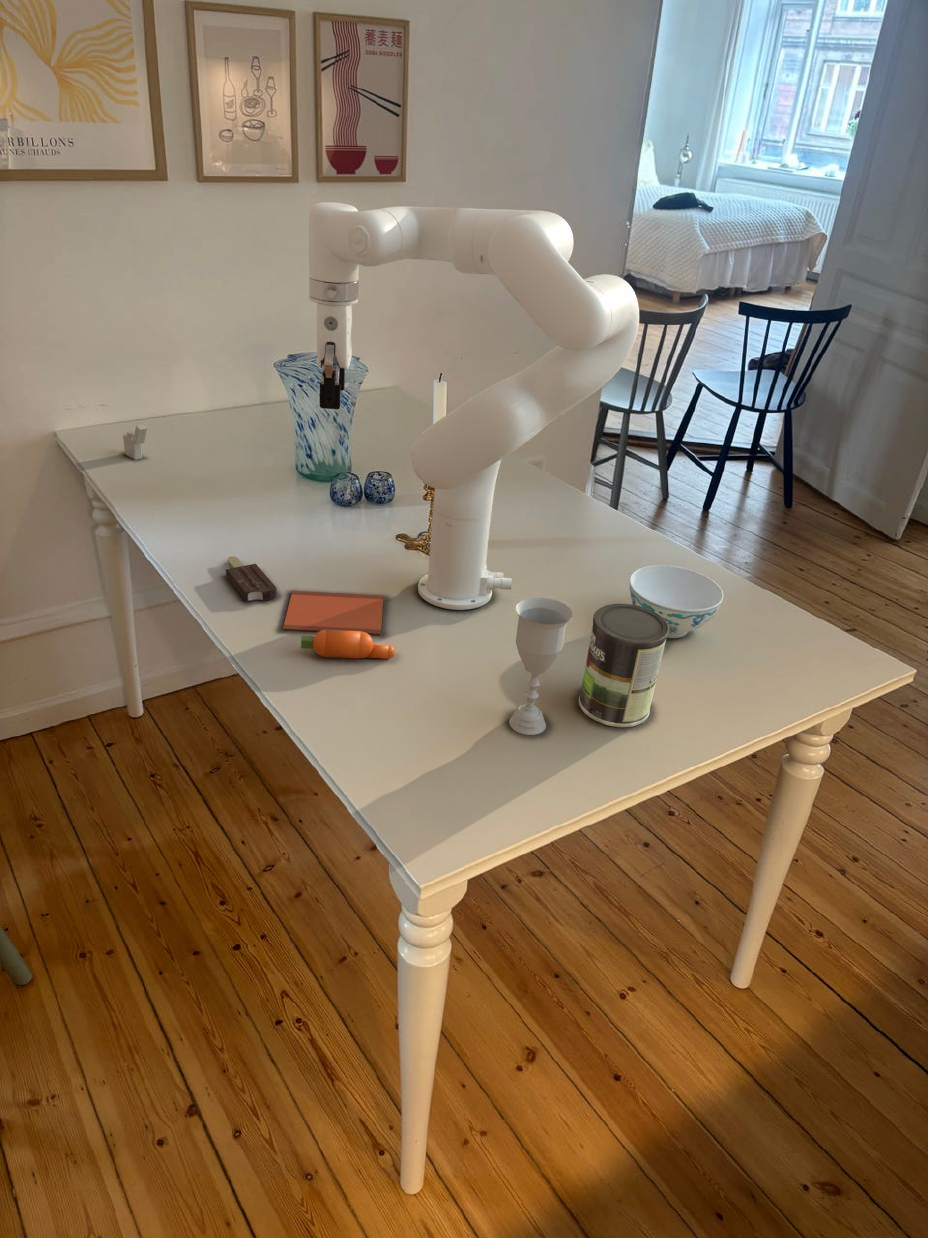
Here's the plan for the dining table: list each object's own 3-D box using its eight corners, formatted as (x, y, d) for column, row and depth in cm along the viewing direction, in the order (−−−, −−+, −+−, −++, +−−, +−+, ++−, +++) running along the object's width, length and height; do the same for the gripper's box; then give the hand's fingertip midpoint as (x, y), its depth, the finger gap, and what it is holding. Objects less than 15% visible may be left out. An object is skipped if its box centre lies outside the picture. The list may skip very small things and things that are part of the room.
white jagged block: (124, 453, 198) (120, 417, 194) (131, 452, 199) (128, 416, 195) (142, 463, 194) (139, 427, 190) (150, 462, 195) (146, 425, 191)
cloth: (383, 597, 154) (383, 595, 154) (380, 635, 144) (380, 633, 144) (292, 592, 153) (292, 590, 153) (282, 630, 143) (282, 628, 143)
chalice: (551, 710, 131) (569, 599, 122) (556, 740, 125) (576, 626, 116) (499, 707, 130) (513, 596, 121) (502, 737, 125) (517, 622, 115)
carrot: (394, 650, 141) (396, 628, 139) (394, 665, 137) (395, 642, 135) (302, 646, 140) (302, 623, 138) (300, 660, 136) (299, 637, 134)
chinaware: (603, 619, 154) (610, 579, 150) (660, 596, 163) (669, 557, 159) (673, 662, 145) (684, 619, 141) (731, 635, 153) (742, 594, 149)
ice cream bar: (216, 564, 159) (248, 604, 149) (215, 556, 158) (247, 595, 148) (245, 559, 162) (279, 598, 151) (245, 550, 161) (278, 589, 150)
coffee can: (585, 727, 128) (601, 641, 121) (572, 684, 137) (587, 601, 130) (658, 729, 129) (678, 643, 122) (640, 686, 138) (658, 604, 131)
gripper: (354, 304, 136) (351, 417, 145) (361, 281, 151) (358, 384, 160) (303, 300, 136) (303, 414, 144) (314, 277, 151) (314, 381, 159)
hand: (332, 398), depth 152 cm, fingers open, 9 cm apart
